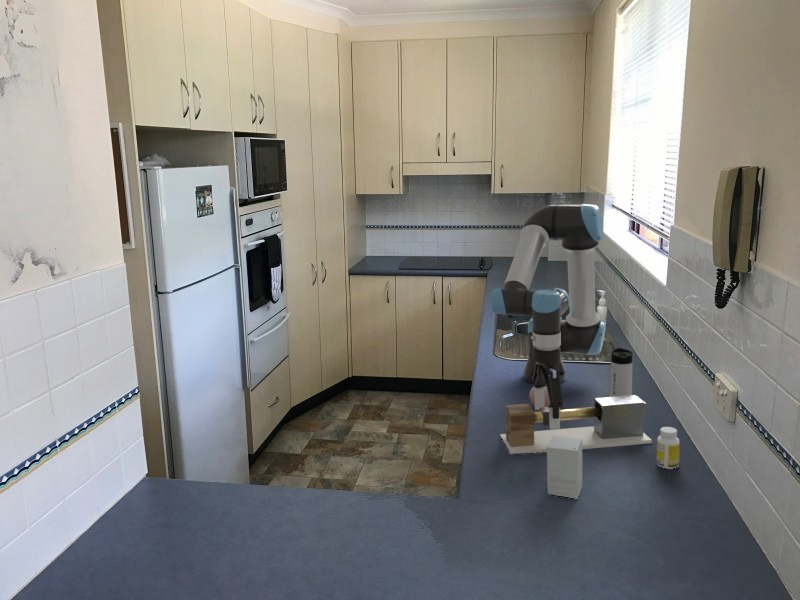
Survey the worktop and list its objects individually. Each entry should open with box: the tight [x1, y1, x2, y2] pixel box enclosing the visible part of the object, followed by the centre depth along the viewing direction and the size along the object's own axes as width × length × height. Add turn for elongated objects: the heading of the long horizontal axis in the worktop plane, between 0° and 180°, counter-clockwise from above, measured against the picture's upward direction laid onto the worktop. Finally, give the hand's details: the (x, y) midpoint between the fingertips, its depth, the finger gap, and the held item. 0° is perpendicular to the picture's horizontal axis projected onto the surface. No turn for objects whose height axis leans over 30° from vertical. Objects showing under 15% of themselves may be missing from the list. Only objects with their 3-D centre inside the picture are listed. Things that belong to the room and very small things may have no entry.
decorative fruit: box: [528, 384, 550, 407], centre depth 207 cm, size 9×8×10 cm
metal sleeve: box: [593, 394, 647, 439], centre depth 186 cm, size 6×13×10 cm, turn 95°
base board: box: [499, 425, 653, 454], centre depth 186 cm, size 12×40×1 cm, turn 95°
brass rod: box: [534, 406, 601, 427], centre depth 184 cm, size 4×26×4 cm, turn 95°
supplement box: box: [546, 435, 583, 500], centre depth 157 cm, size 7×7×13 cm
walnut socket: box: [505, 403, 535, 447], centre depth 183 cm, size 6×6×10 cm
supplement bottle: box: [656, 426, 681, 470], centre depth 168 cm, size 5×5×10 cm
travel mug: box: [609, 347, 633, 397], centre depth 202 cm, size 6×7×20 cm
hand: (546, 418), depth 184 cm, fingers open, 13 cm apart
